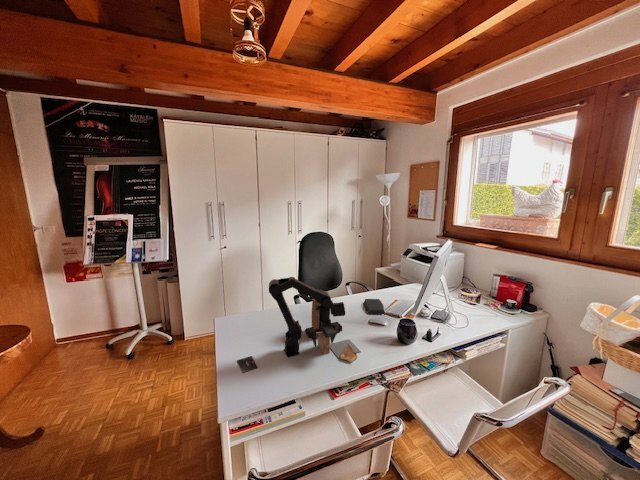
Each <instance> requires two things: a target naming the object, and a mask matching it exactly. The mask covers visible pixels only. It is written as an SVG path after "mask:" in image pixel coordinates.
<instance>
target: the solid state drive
mask: <svg viewBox="0 0 640 480" xmlns="http://www.w3.org/2000/svg"><path fill="white" fill-rule="evenodd" d="M236 361H237V363H238V366H239V369H240V370H241V372H242V374H245V373H247V372H250V371H254V370H256V369H258V368H259V367H258V365H257V363H256V361H255V359H254V358H253V356H252V355H251V356H247V357H244V358H241V359H237V360H236Z"/></svg>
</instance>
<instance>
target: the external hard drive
mask: <svg viewBox="0 0 640 480" xmlns="http://www.w3.org/2000/svg"><path fill="white" fill-rule="evenodd" d="M363 306H364V309H365V312H366V313H367V315H370V316H376V315H377V316H386V315H387V314H386V310H385V306H384V303H383V302H382V301H381V299H379V298H365V299H364V301H363ZM382 314H384V315H382Z"/></svg>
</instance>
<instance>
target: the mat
mask: <svg viewBox="0 0 640 480" xmlns="http://www.w3.org/2000/svg"><path fill="white" fill-rule="evenodd" d="M348 344H349V346H350V347H351V348H352V349H353V351H354V352H355V353H356V354H358V353H361V350H360V349H359V347H358V346H356V345H355V344H354V343H353V342H352V341H351V339H349V338H348V339H343V340H340V341H337V342H336V341H335V342H333V343H331V342H330V351H332V352H333V354H334V355H335V356H336V358H338V359H341V357H340V356H341V354H342V352H343V350H344V349H345V348H346V346H347V345H348Z"/></svg>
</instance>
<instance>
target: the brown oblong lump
mask: <svg viewBox="0 0 640 480" xmlns="http://www.w3.org/2000/svg"><path fill="white" fill-rule="evenodd" d="M317 304H319V303H318V302H317V301H316V300H315V299H314V298H312V301H311V327H313V328H314V329H318V326H317V324H318V319H317V317H318V314H319V310H316V309H315V306H316V305H317ZM319 305H321V304H319ZM316 336H318V333H316Z"/></svg>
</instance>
